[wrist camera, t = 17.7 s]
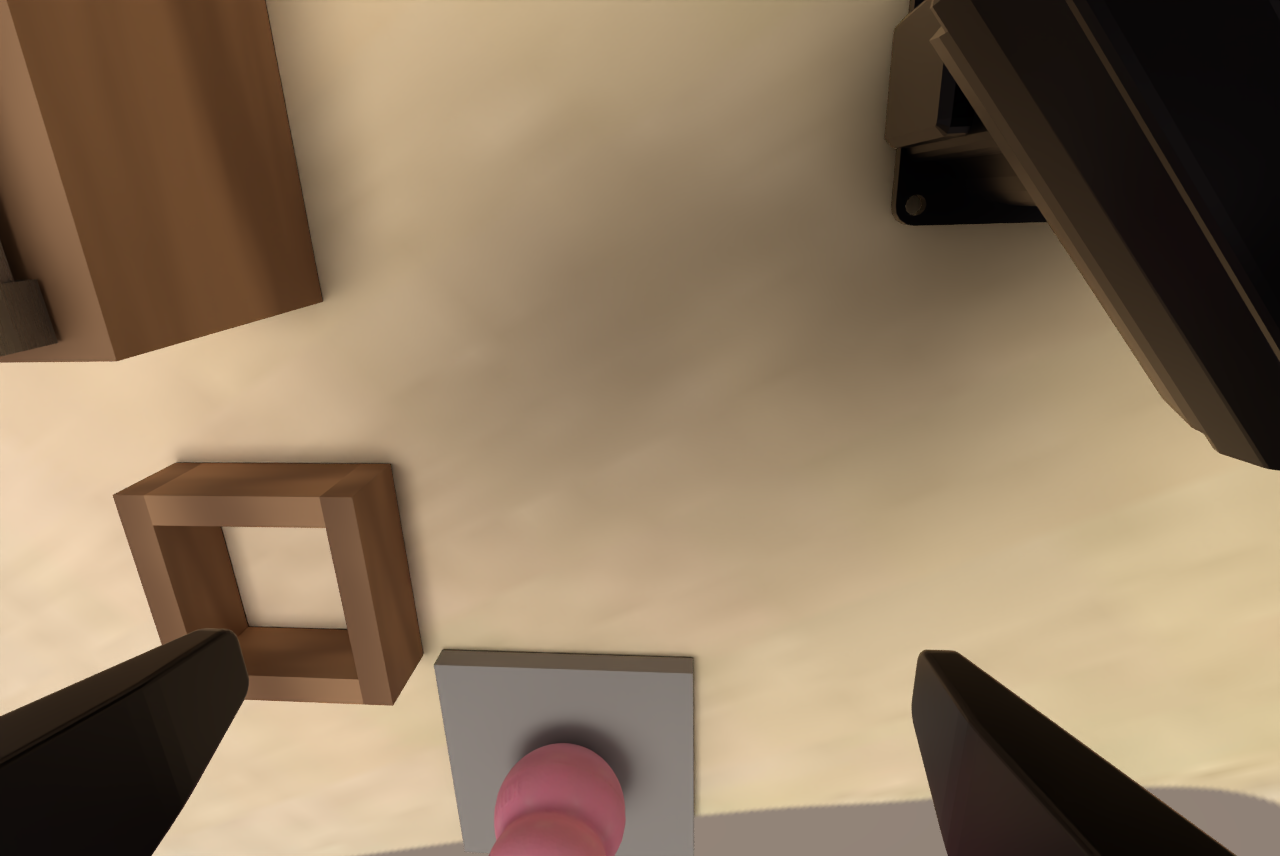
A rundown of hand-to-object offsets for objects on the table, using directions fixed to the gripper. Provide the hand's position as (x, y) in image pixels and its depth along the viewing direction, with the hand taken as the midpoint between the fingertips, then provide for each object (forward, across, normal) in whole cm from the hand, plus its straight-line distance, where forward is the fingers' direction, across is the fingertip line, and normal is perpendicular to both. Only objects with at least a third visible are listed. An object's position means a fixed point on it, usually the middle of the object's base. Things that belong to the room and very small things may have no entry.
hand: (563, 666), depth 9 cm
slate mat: (+12, +3, +14) cm, 19 cm away
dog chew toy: (+11, +3, +14) cm, 18 cm away
